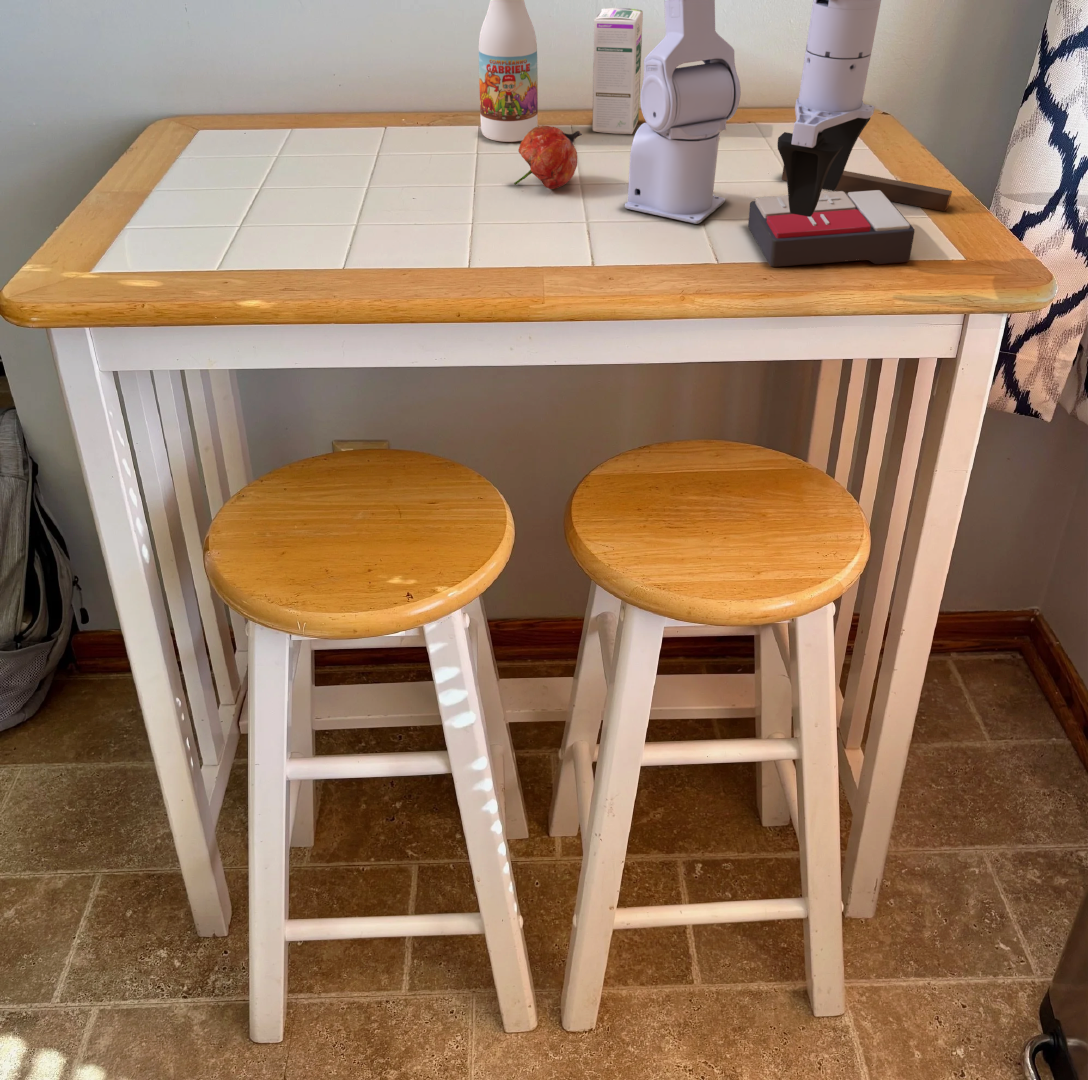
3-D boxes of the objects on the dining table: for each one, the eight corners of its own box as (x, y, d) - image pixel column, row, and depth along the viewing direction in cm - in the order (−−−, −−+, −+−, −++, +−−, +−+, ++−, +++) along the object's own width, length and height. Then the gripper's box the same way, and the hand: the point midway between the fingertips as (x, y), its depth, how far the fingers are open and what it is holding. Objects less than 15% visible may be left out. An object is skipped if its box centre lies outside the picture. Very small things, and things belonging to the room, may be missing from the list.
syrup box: (633, 135, 142) (639, 19, 133) (590, 132, 143) (593, 16, 134) (638, 122, 147) (645, 8, 137) (597, 119, 147) (600, 6, 138)
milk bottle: (474, 127, 144) (468, -35, 132) (528, 122, 146) (527, -38, 134) (489, 146, 139) (484, -22, 126) (544, 140, 140) (545, -26, 128)
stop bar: (781, 180, 129) (783, 163, 128) (785, 176, 130) (788, 159, 129) (944, 212, 122) (949, 195, 120) (948, 207, 123) (952, 190, 121)
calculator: (749, 194, 116) (883, 184, 116) (746, 231, 118) (877, 221, 119) (773, 234, 107) (917, 223, 108) (769, 273, 110) (910, 262, 110)
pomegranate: (525, 215, 126) (592, 168, 121) (488, 163, 123) (556, 113, 119) (537, 199, 132) (601, 154, 128) (502, 149, 130) (567, 101, 125)
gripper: (860, 77, 87) (831, 234, 95) (903, 38, 97) (874, 184, 105) (778, 65, 89) (758, 220, 98) (828, 29, 99) (806, 172, 108)
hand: (813, 200), depth 102 cm, fingers open, 7 cm apart
